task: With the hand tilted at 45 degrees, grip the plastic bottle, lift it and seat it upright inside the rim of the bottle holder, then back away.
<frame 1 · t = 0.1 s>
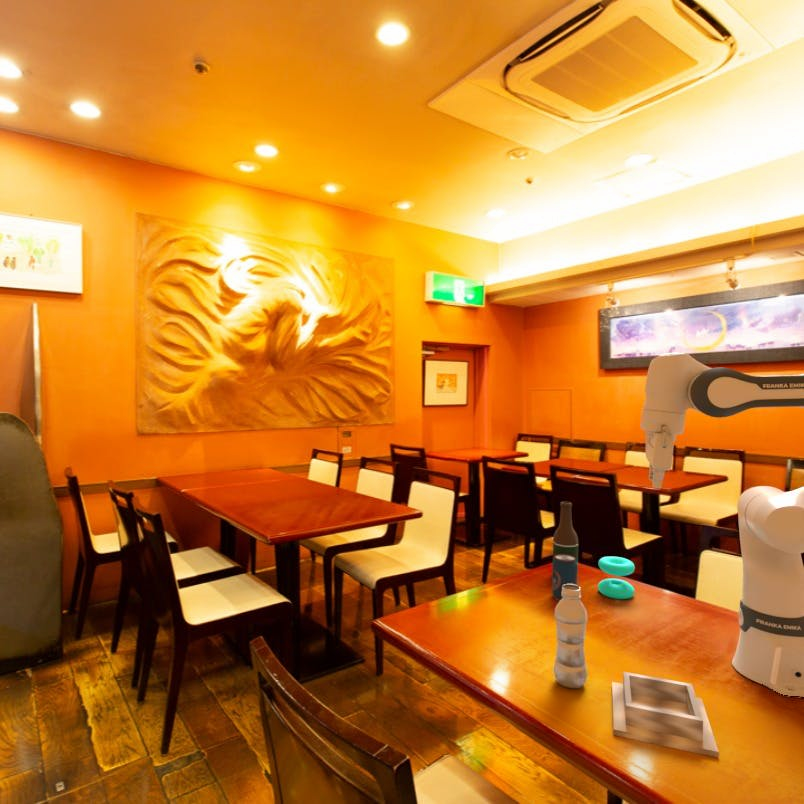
hand: (654, 484, 120), 39 cm above the table, tool pointing down, fingers open, 8 cm apart
plastic bottle: (570, 684, 108), on the table
bottle holder: (659, 718, 97), on the table
beer bottle: (565, 576, 171), on the table
soda can: (564, 598, 152), on the table
donuts: (615, 594, 156), on the table
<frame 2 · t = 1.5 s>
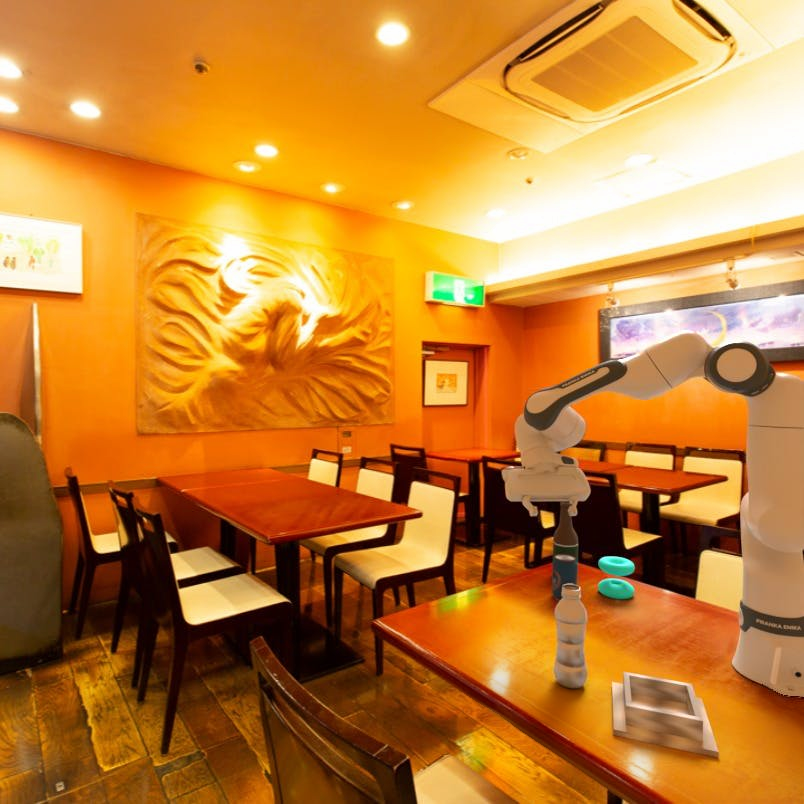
hand: (554, 514, 123), 31 cm above the table, tool tilted 45°, fingers open, 8 cm apart
nothing on the table moved.
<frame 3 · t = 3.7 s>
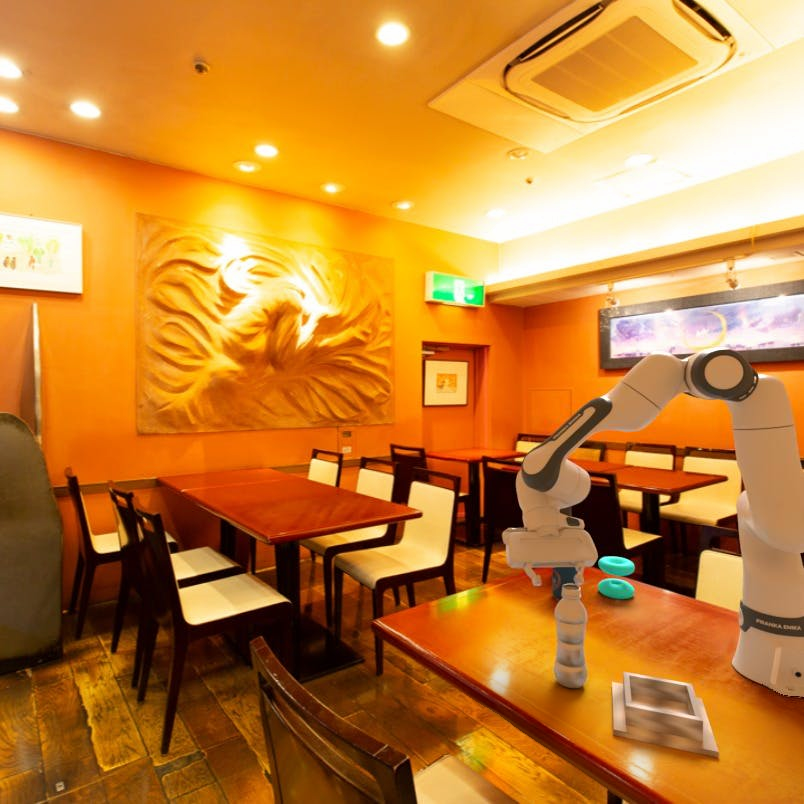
hand: (558, 584, 114), 18 cm above the table, tool tilted 45°, fingers open, 8 cm apart
nothing on the table moved.
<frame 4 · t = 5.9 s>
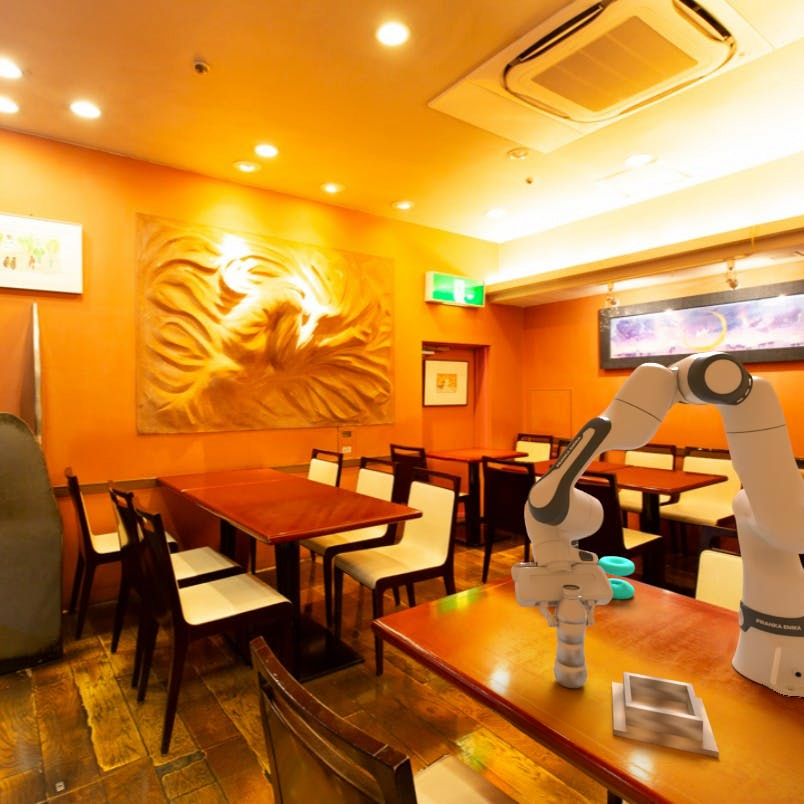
hand: (572, 625, 107), 12 cm above the table, tool tilted 45°, fingers closed on plastic bottle, 6 cm apart
plastic bottle: (570, 684, 108), on the table, touching gripper
everything else where it was.
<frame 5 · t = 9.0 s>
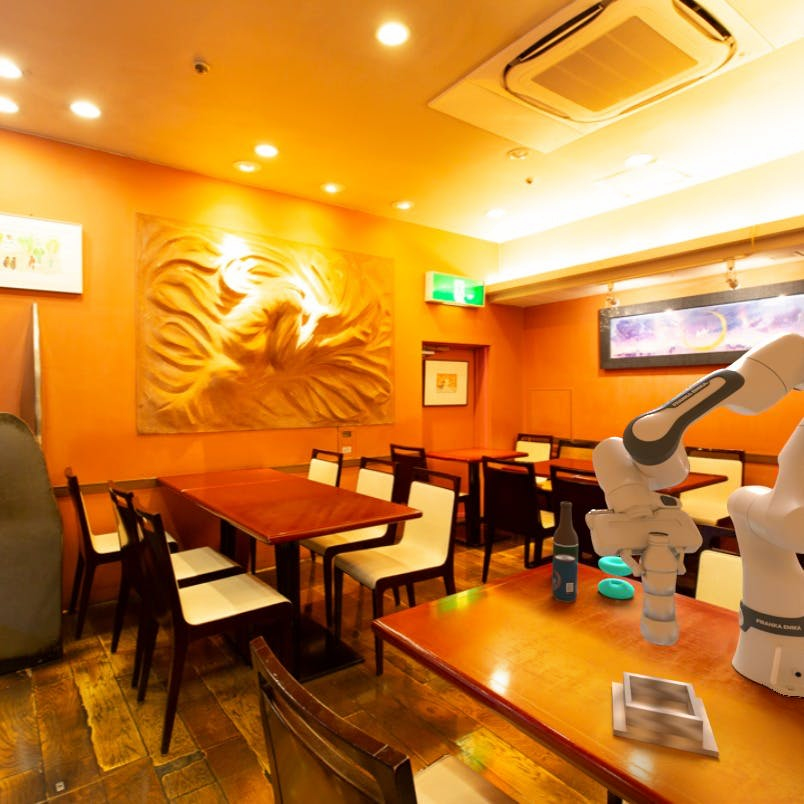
hand: (660, 574, 96), 27 cm above the table, tool tilted 45°, fingers closed on plastic bottle, 6 cm apart
plastic bottle: (659, 643, 97), point 14 cm above the table, touching gripper
everything else where it was.
when the fingers open (15 cm above the table, at t = 12.1 s): plastic bottle moves 2 cm, resting on bottle holder.
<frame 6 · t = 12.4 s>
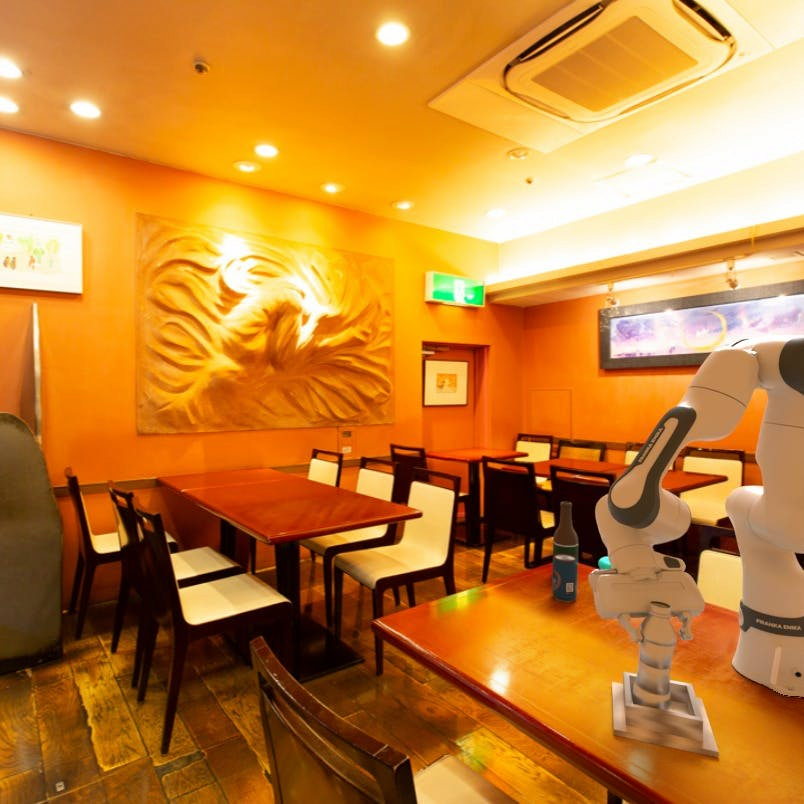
hand: (663, 640, 96), 15 cm above the table, tool tilted 45°, fingers open, 8 cm apart
plastic bottle: (649, 714, 96), point 1 cm above the table, touching bottle holder, gripper
everything else where it was.
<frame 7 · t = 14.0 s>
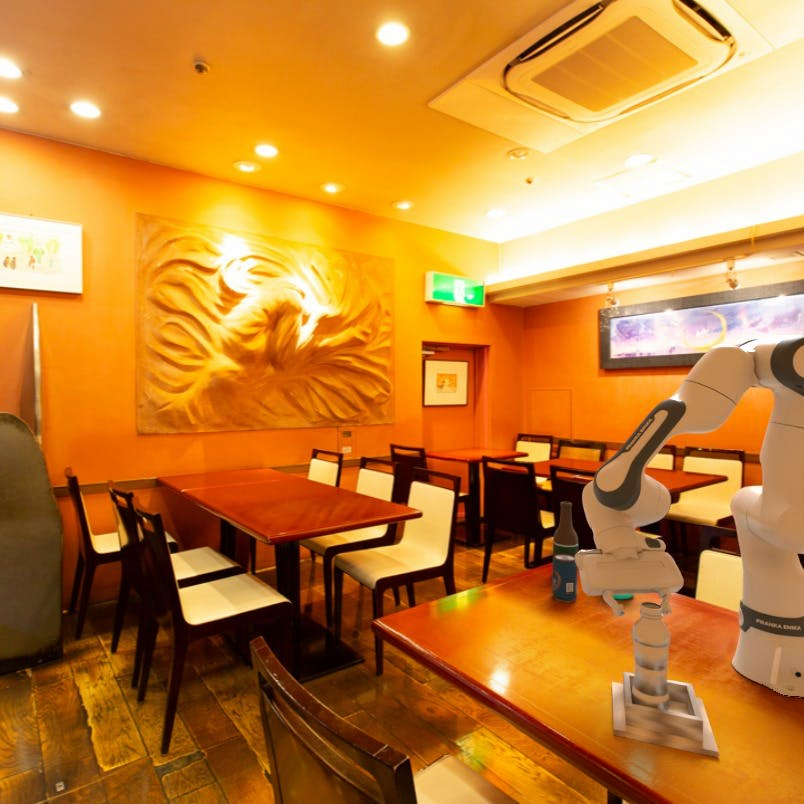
hand: (643, 614, 103), 17 cm above the table, tool tilted 45°, fingers open, 8 cm apart
plastic bottle: (650, 715, 96), point 1 cm above the table, touching bottle holder
everything else where it was.
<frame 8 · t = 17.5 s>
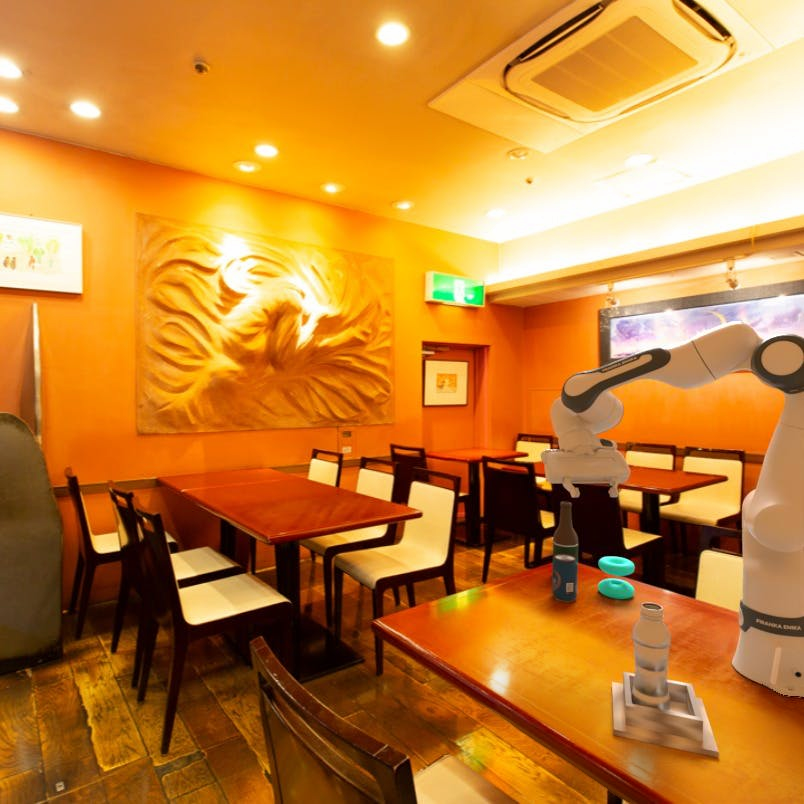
hand: (595, 496, 124), 35 cm above the table, tool tilted 45°, fingers open, 8 cm apart
nothing on the table moved.
at the end: plastic bottle 2.0 cm off-centre on the bottle holder, point 0.8 cm above the bottle holder's base; plastic bottle tilted 0°; the gripper is holding nothing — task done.
